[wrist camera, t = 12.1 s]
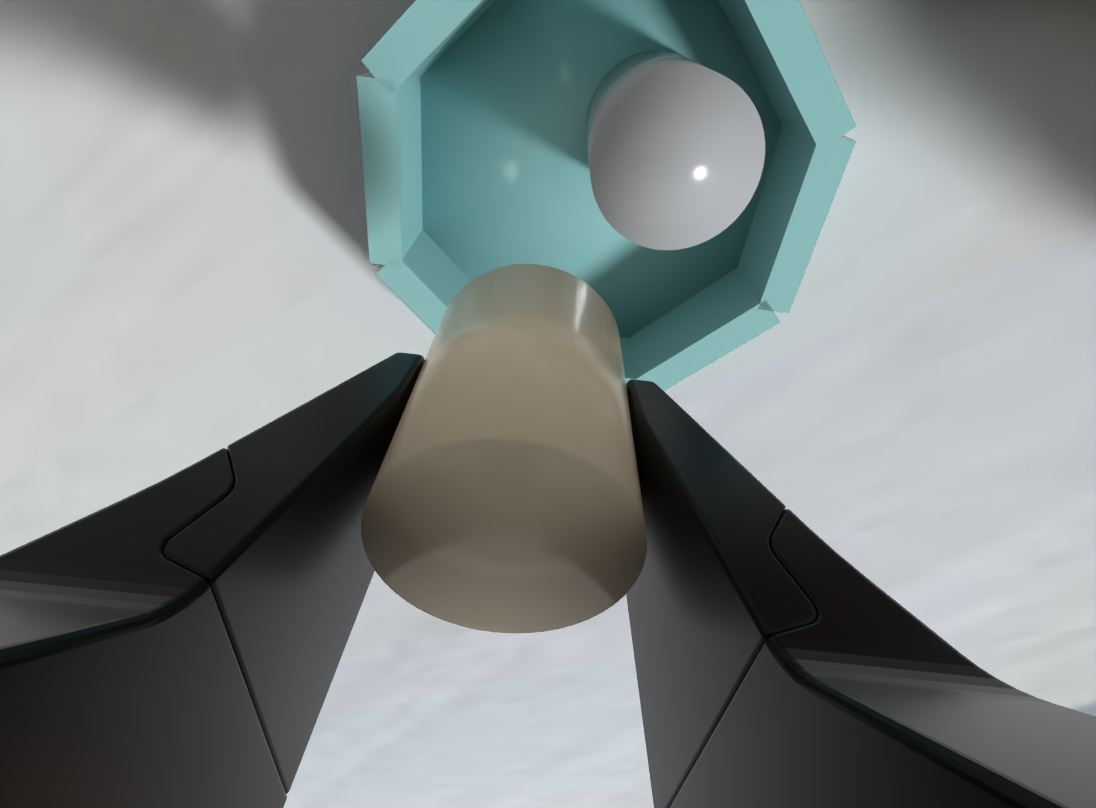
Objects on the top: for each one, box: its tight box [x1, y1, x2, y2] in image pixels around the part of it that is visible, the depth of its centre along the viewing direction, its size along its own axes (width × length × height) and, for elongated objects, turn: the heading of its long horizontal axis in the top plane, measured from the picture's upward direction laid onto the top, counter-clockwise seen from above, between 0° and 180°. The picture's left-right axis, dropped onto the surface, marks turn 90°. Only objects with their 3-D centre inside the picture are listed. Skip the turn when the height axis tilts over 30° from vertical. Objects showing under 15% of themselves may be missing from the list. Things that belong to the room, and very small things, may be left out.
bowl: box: [356, 0, 856, 391], centre depth 14 cm, size 11×11×3 cm
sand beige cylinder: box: [361, 264, 647, 633], centre depth 8 cm, size 3×3×4 cm
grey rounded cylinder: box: [586, 50, 765, 250], centre depth 12 cm, size 3×3×4 cm
